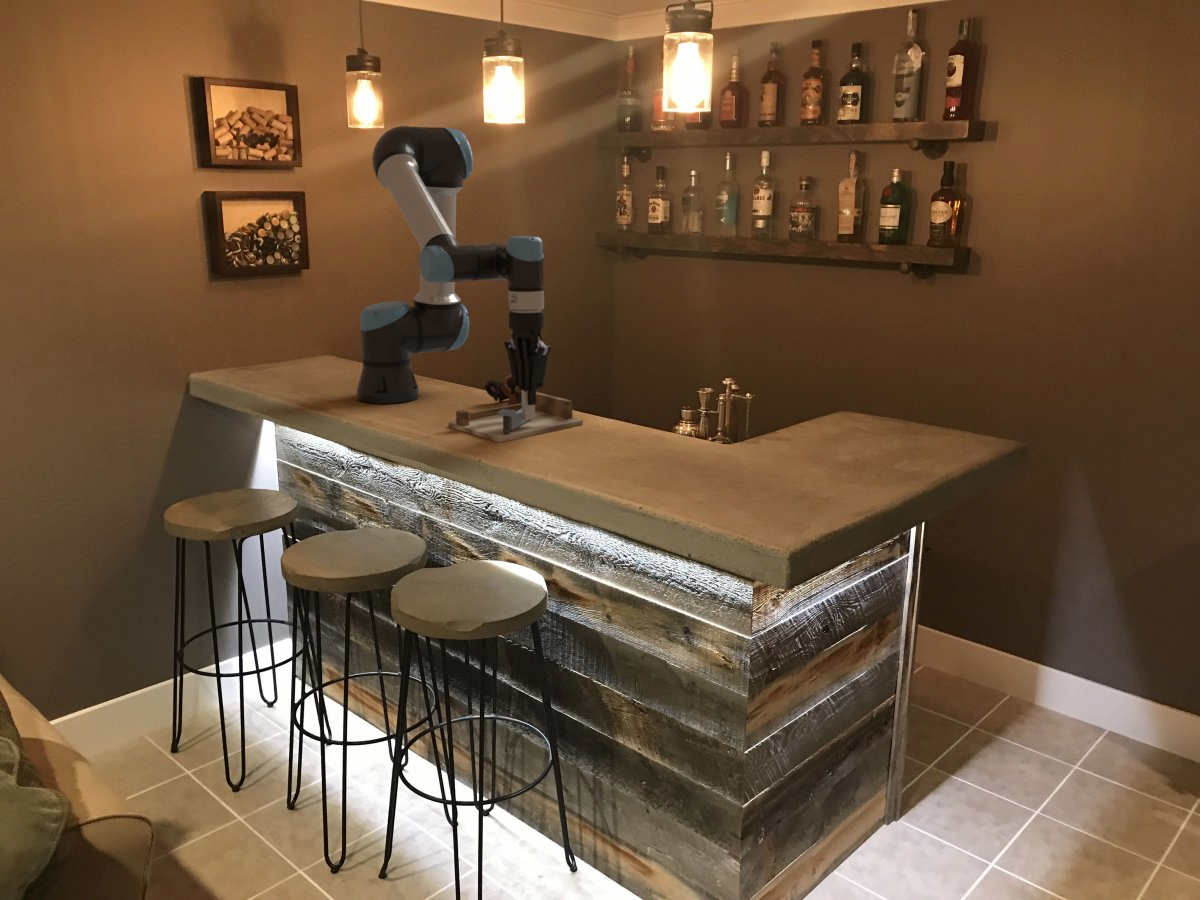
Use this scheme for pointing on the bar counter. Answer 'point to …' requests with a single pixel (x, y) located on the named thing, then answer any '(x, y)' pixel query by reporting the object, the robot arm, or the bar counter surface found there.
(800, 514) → the bar counter surface
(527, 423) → the board
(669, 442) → the bar counter surface
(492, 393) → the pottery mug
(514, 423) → the leg
